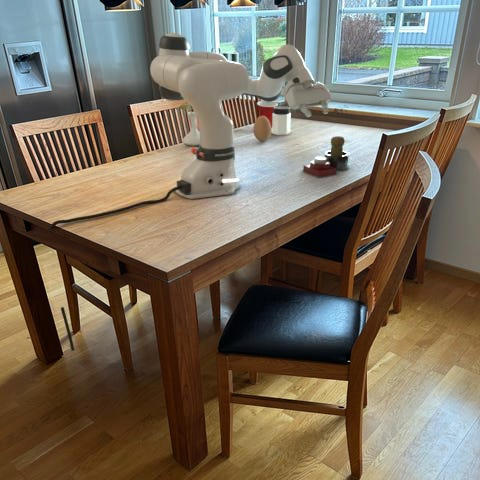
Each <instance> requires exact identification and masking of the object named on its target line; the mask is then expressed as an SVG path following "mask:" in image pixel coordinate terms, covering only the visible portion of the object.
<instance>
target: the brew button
mask: <svg viewBox="0 0 480 480" xmlns="http://www.w3.org/2000/svg"><path fill="white" fill-rule="evenodd" d="M313 160H314V163H316V164H325V163H326V158H325V156H316V157H314V159H313Z"/></svg>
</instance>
